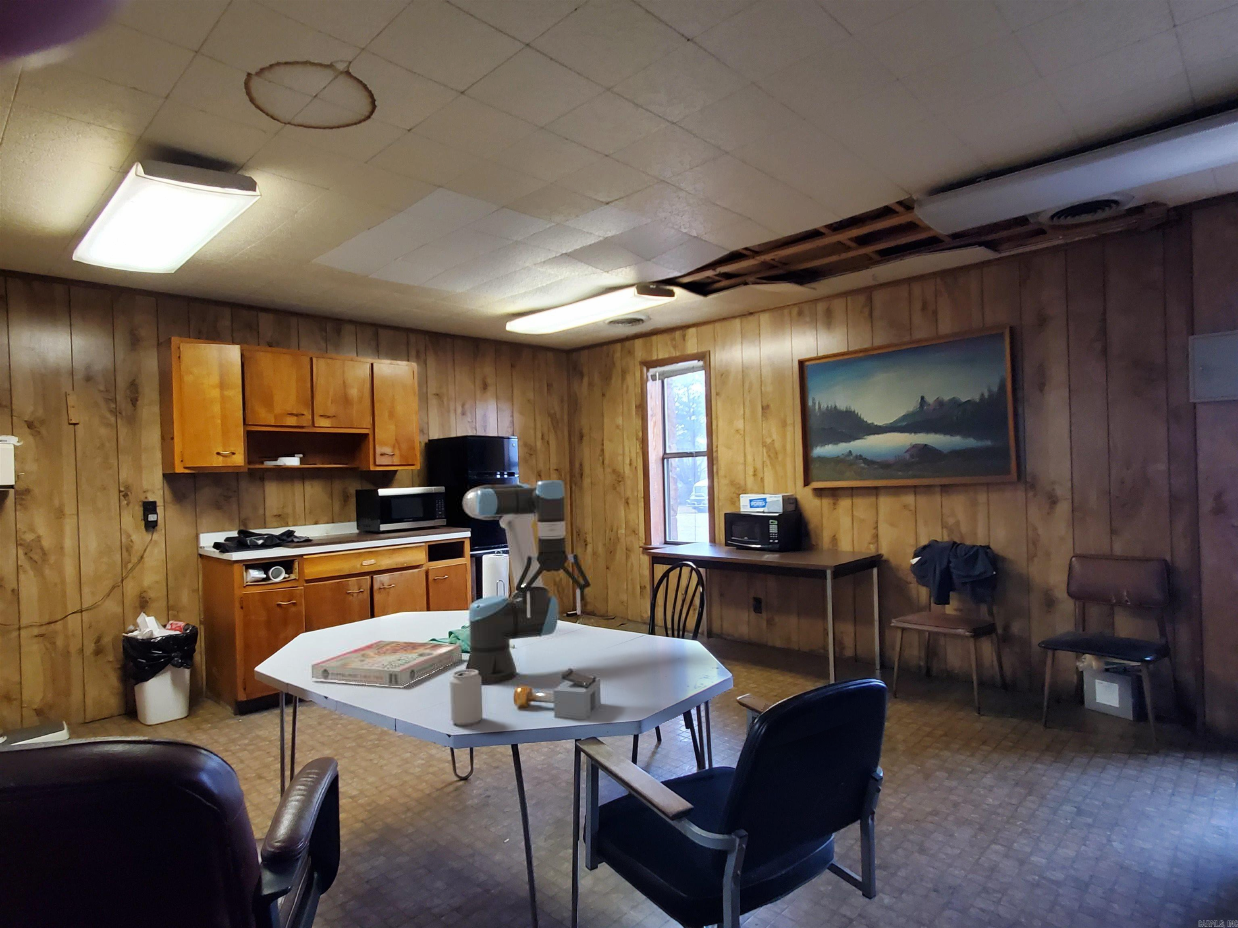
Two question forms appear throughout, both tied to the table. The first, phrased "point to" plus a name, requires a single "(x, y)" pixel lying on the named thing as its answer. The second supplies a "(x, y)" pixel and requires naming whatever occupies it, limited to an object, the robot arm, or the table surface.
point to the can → (466, 697)
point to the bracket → (576, 699)
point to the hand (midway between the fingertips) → (553, 615)
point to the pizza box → (388, 662)
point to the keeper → (578, 678)
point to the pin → (530, 696)
